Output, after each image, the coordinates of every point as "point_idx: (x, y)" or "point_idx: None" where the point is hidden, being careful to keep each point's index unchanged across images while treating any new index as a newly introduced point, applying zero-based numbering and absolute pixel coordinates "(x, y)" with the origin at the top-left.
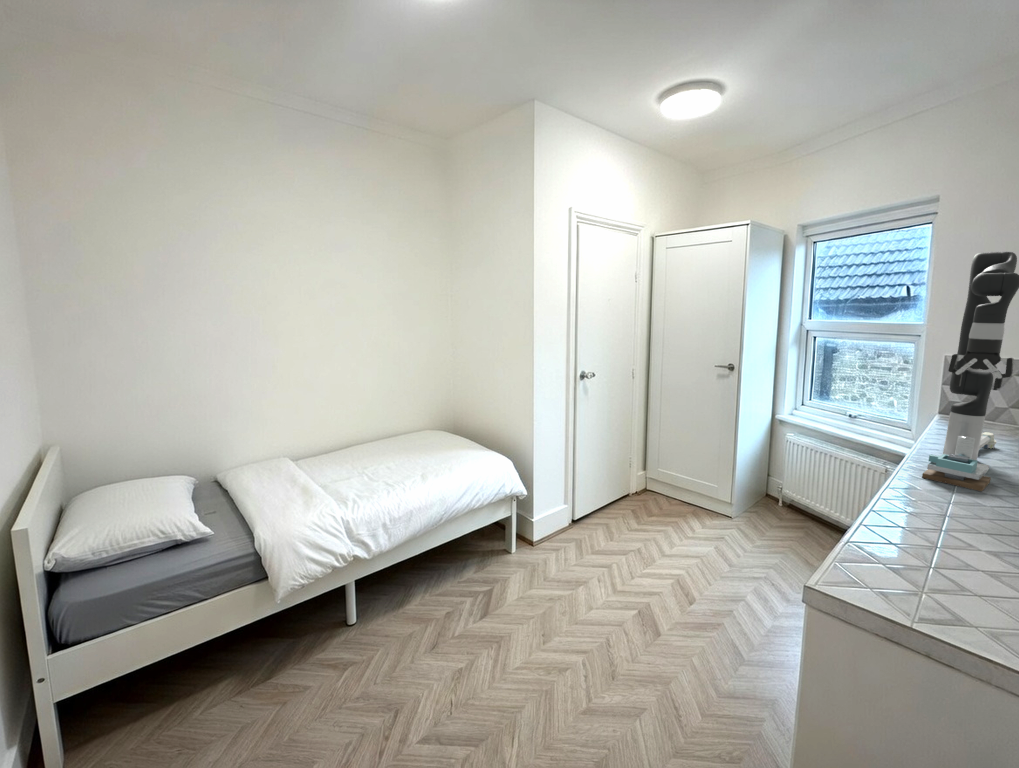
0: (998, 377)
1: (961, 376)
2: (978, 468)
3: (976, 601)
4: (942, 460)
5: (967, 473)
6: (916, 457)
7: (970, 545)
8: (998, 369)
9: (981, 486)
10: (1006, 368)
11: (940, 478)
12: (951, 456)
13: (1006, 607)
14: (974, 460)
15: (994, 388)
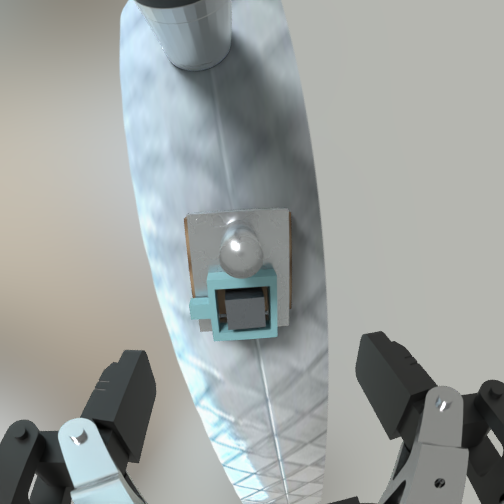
0: (409, 444)
1: (131, 435)
2: (277, 267)
3: (309, 498)
4: (224, 339)
5: None
6: (130, 131)
7: (301, 465)
8: (459, 460)
9: (289, 308)
10: (478, 488)
11: (225, 312)
12: (234, 328)
13: (320, 494)
14: (271, 282)
15: (363, 380)
